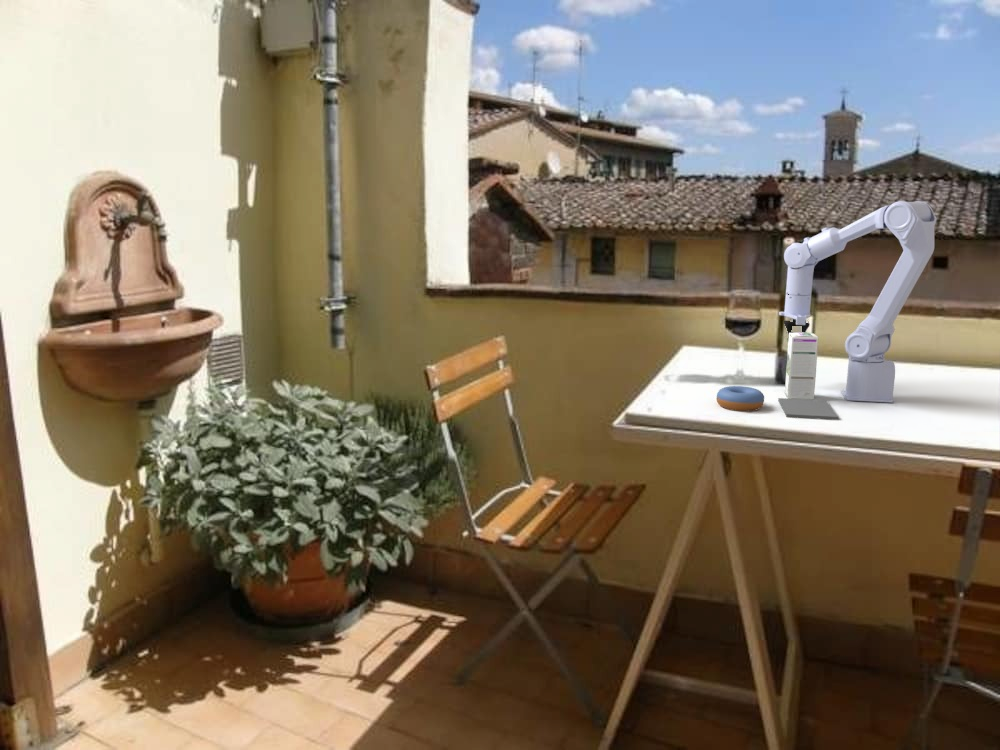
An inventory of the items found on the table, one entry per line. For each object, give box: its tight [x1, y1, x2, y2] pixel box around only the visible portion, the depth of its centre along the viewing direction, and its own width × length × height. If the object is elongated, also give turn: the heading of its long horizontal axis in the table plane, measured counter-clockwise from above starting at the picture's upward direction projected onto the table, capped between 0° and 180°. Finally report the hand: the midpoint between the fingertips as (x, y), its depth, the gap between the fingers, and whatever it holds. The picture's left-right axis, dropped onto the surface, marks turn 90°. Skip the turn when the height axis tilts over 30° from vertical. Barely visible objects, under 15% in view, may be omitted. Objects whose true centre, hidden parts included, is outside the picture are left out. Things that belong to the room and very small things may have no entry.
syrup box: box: [784, 331, 819, 400], centre depth 178 cm, size 6×6×14 cm
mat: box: [777, 397, 839, 420], centre depth 168 cm, size 10×14×1 cm
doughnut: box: [716, 385, 765, 412], centre depth 171 cm, size 10×10×5 cm
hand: (793, 350), depth 190 cm, fingers closed
